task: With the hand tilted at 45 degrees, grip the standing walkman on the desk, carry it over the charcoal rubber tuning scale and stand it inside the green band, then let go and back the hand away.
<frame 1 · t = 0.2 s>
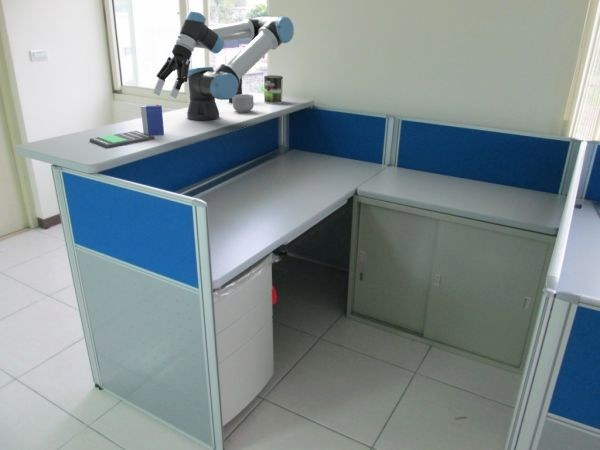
hand: (164, 95, 208), 15 cm above the worktop, tool tilted 30°, fingers open, 13 cm apart
coffee can: (273, 102, 283), on the worktop
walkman: (154, 135, 208), on the worktop
teacup: (243, 111, 258), on the worktop
tuning scale: (122, 140, 198), on the worktop
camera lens: (235, 102, 281), on the worktop
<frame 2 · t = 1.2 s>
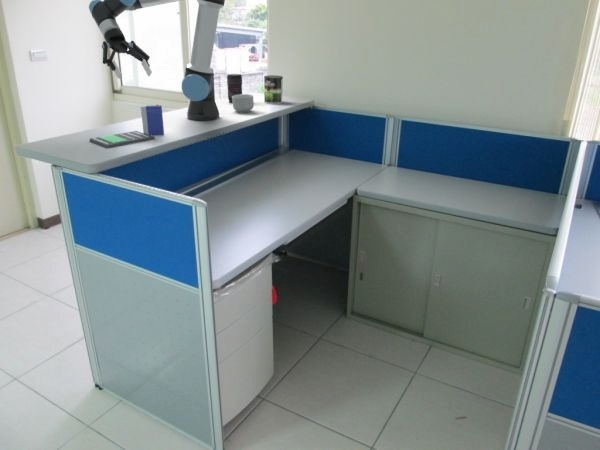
hand: (135, 75, 205), 23 cm above the worktop, tool tilted 45°, fingers open, 13 cm apart
nothing on the worktop moved.
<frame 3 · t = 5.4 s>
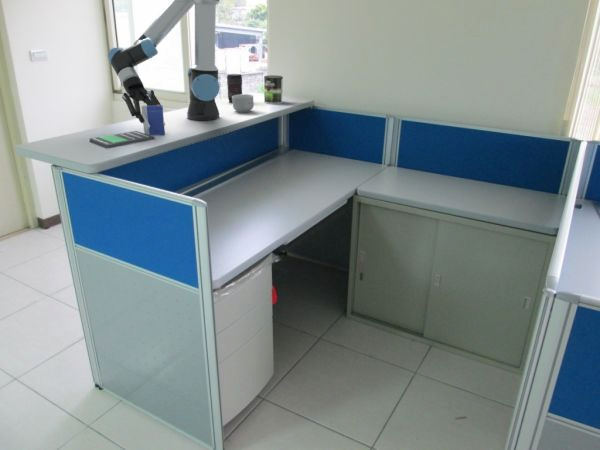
hand: (156, 127, 205), 4 cm above the worktop, tool tilted 45°, fingers closed on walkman, 6 cm apart
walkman: (155, 135, 208), on the worktop, touching gripper
everything else where it was.
when the fingers open (6 cm above the worktop, at t = 10.1 s): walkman drops 1 cm, resting on tuning scale.
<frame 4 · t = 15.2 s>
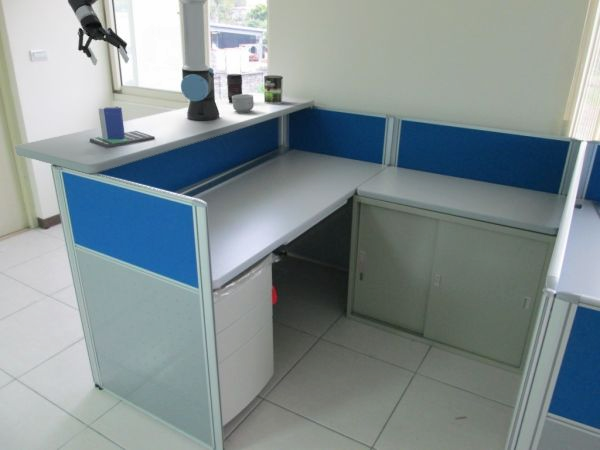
hand: (111, 62, 203), 28 cm above the worktop, tool tilted 45°, fingers open, 13 cm apart
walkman: (114, 138, 196), point 1 cm above the worktop, touching tuning scale
everything else where it was.
at the end: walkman inside the target area on the tuning scale (0.5 cm from its centre), point 1.1 cm above the tuning scale's base; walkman tilted 0°; the gripper is holding nothing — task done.
